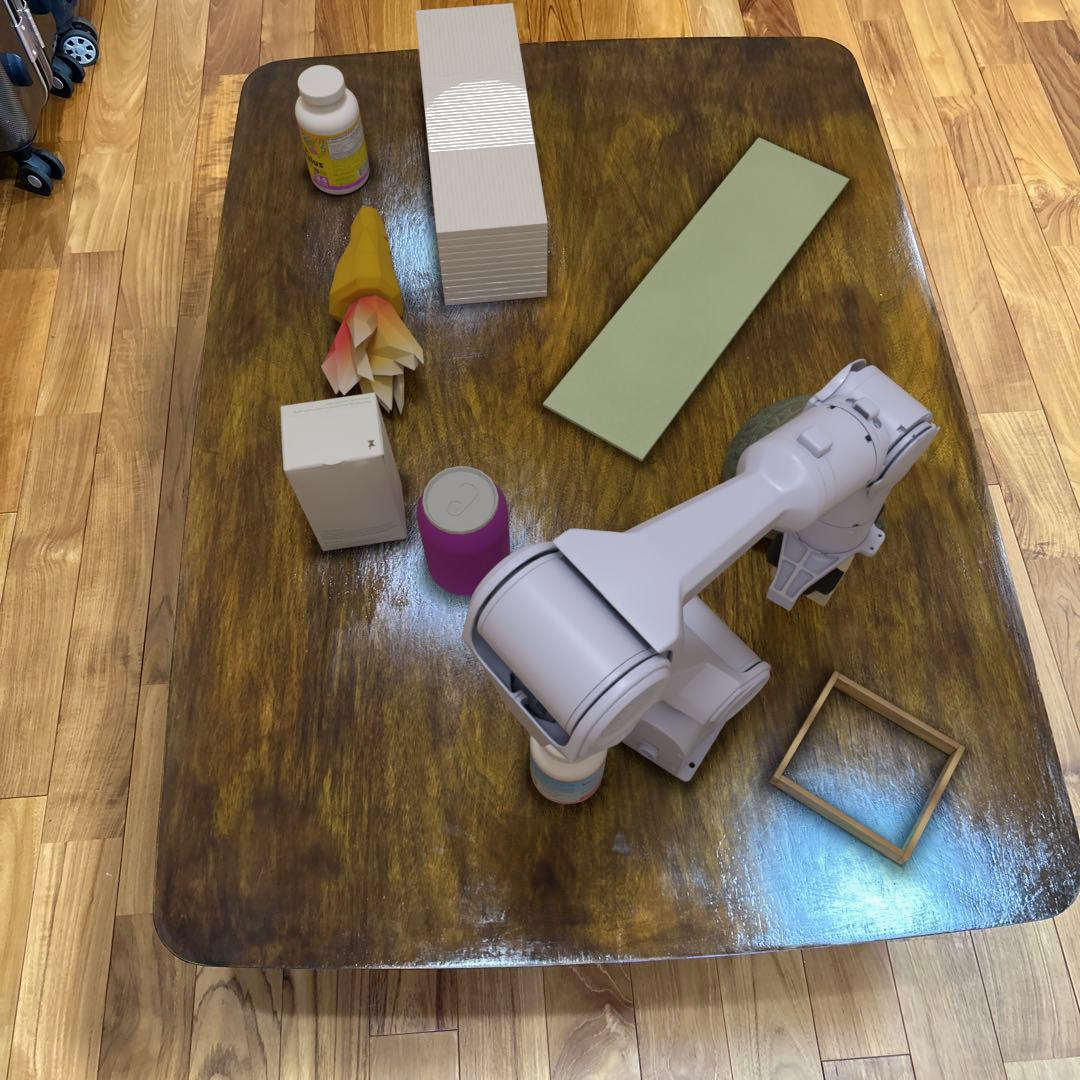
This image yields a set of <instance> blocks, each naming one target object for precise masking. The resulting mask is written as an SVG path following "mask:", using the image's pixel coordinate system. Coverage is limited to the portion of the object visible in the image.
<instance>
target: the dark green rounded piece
mask: <svg viewBox="0 0 1080 1080" xmlns="http://www.w3.org/2000/svg"><path fill="white" fill-rule="evenodd" d="M814 395H815V394H805V395H794V396H790V397H788V398H787V397H786V398H783V399H781V400H779V401H776V402H773V403H771V404H770V405H767V406H766V407H763V408H761V409H760V410H758V411H757V412H756V413H754V414H753V415H751V416H750V417H749V418H748V419H747V420H746V421H745V422H743V424H742V425H741V426H740V428H739V429H738V430H737V432H736V433H735V435H734V436H733V438H732V439H731V442H730V443H729V445H728V447H727V449H726V454H725V457H724V459H723V463H722V471H721V480H722V481H721V482H722V483H724V482H726V481H728V480H730V479H732V478H734V477H736V470H737V466H738V461H739V459H740V457H741V455H742V454H743V452H744V451H745V450H746V448H748V447H749V446H750V445H752V444H754V443H755V442H757V441H758V440H760V439H761V438H763V437H765V436H766V435H768V434H770V433H771V432H773V431H774V430H776V429H778V428H779V427H781V426H782V425H784V424H786V423H787V422H789V421H790V420H792V419H794V418H795V417H797V416H798V415H800V414H801V413H802V411H803V410H804V408H805V406H806V404H807V402H808V401H809V400H810V399H811V398H812V397H813V396H814ZM875 526H876V527H877V528H878V529H880V530H882V531H883V532H884V531H885V529H886V526H885V523H884V520H883V518H882V515H880V517H879V519H878V520H877V522H876V523H875ZM779 532H780V531H776V530H774V529H771V530H770V531H769V532H768V533H767V534H766V535H764V536H763V538H767V539H769V540H772V541H773V540H774V539H775V537H776V536H777V534H778V533H779ZM780 533H782V534H784V532H780Z"/></svg>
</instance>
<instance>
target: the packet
mask: <svg viewBox="0 0 1080 1080" xmlns="http://www.w3.org/2000/svg"><path fill="white" fill-rule="evenodd" d="M854 558H855V554H854V555H853V556H851V557H850V558H848V559H847V560H846V561H844V562H843V563H841V564H840V565H839V566H837V567H836V568H838V569H840V570H842V571H843V572H844V575H843V576H842V578H841V579H840V581H839V583H838V584H837V586H836V587H835V589H834V590H833V591H832V592H830V593H829V594H827V595H824V594H822V593H820V592H818V591H815V592H813V593H811V594H809V595H806V596H805V598H807V599H809V600H811V601H813V602H814V603H816V604H818V605H819V606H821V607H823V608H825V607H826V605H827V604H828V602H829V600H830V599H831V597H832V595H833V594H834V592H835V591H836V589H837V587H838V585H839V584H840V582H842V579H843V578H844V576H845V574H846V573H847V571H848V570H849V568H850V566H851V564H852V562H853V560H854ZM776 572H777V568H776V567H774V566H773V565H772V568H771V571H770V574H769V577H771V578H773V579H774V578H775V575H776ZM801 595H802V596H804V595H803V594H801Z"/></svg>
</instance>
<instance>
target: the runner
mask: <svg viewBox="0 0 1080 1080" xmlns="http://www.w3.org/2000/svg"><path fill="white" fill-rule="evenodd" d="M849 181H850V178H848V177H846V176H844V175H843V174H840V173H837V172H835V171H833V170H831V169H829V168H827V167H824V166H822V165H820V164H818V163H815V162H813V161H811V160H809V159H807V158H805V157H803V156H801V155H799V154H796V153H794V152H791V151H789V150H787V149H785V148H783V147H781V146H778V145H776V144H774V143H772V142H770V141H768V140H766V139H763V138H761V137H758V138H757V139H756V140H755V141H754V143H753V144H752V145H751V146H750V147H749V149H748V150H747V151H746V152H745V153H744V155H743V156H742V157H741V158H740V160H739V161H738V162H737V163H736V165H734V167H733V168H732V170H731V171H730V172H729V173H728V174H727V176H726V177H725V178H724V179H723V180H722V182H721V183H720V184H719V185H718V187H717V188H716V189H715V191H714V192H713V193H712V194H711V195H710V196H709V198H708V199H707V201H706V202H705V203H704V204H703V205H702V206H701V208H700V209H699V210H698V211H697V213H696V214H695V215H694V216H693V217H692V219H691V220H690V221H689V223H688V224H687V225H686V226H685V227H684V229H682V231H681V232H680V234H679V235H678V236H677V237H676V239H675V240H674V241H673V242H672V244H671V245H670V246H669V247H668V249H666V251H665V252H664V253H663V255H661V257H660V258H659V259H658V260H657V262H656V263H655V264H654V265H653V267H652V268H651V269H650V270H649V272H648V273H647V274H646V276H645V277H644V278H643V279H642V281H641V282H640V283H639V284H638V286H637V287H636V288H635V289H634V290H633V292H632V293H630V296H629V297H628V298H627V299H626V300H625V302H624V303H623V304H622V305H621V307H620V308H619V309H618V310H617V311H616V312H615V314H614V315H613V316H612V318H611V319H610V320H609V321H608V322H607V324H605V326H604V327H603V329H602V330H601V331H600V332H599V334H598V335H597V336H596V337H595V339H594V340H593V341H592V342H591V343H590V345H589V346H588V347H587V348H586V349H585V351H584V352H583V353H582V355H580V357H579V358H578V359H577V361H576V362H575V363H574V364H573V366H572V367H571V368H570V370H569V371H568V372H567V373H566V374H565V375H564V377H563V378H562V379H561V381H559V383H558V384H557V386H556V387H555V388H554V389H553V390H552V391H551V393H550V394H549V395H548V397H546V399H545V400H544V402H542V407H543V408H545V409H547V410H549V411H551V412H552V413H554V414H556V415H558V417H561V418H562V419H565V420H566V421H569V422H570V423H572V424H574V425H575V426H577V427H578V428H580V429H583V430H584V431H586V432H587V433H590V434H592V435H593V436H595V437H597V438H598V439H599V440H602V441H604V442H606V444H609V445H611V446H612V447H614V448H616V449H618V450H619V451H621V452H623V453H625V454H626V455H628V456H630V457H632V458H634V459H636V460H637V461H639V462H640V463H641V462H643V461H644V460H645V459H646V457H647V456H648V454H649V453H650V452H651V450H652V449H653V448H654V447H655V445H656V443H657V442H658V441H659V440H660V438H661V437H662V436H663V434H664V433H665V432H666V430H667V429H668V428H669V426H670V424H671V423H672V422H673V421H674V419H675V418H676V416H677V415H678V414H679V413H680V412H681V410H682V409H683V407H684V406H685V404H686V403H687V401H688V400H689V399H690V397H691V396H692V395H693V393H694V392H695V391H696V389H697V388H698V387H699V385H700V384H701V383H702V381H703V380H704V379H705V377H706V376H707V374H708V373H710V371H711V369H712V368H713V367H714V366H715V364H716V362H717V361H718V360H719V358H720V357H721V356H722V354H723V353H724V351H725V350H726V349H727V347H728V346H729V345H730V343H731V342H732V341H733V340H734V338H735V337H736V335H737V334H738V332H739V331H740V330H741V328H742V327H743V326H744V324H745V323H746V322H747V320H748V319H749V318H750V316H751V315H752V313H754V311H755V310H756V308H757V306H758V305H759V304H760V303H761V302H762V300H763V299H764V297H765V296H766V294H767V293H768V292H769V290H770V289H771V288H772V287H773V285H774V284H775V282H776V281H777V280H778V278H779V277H780V276H781V274H782V273H783V272H784V270H785V269H786V268H787V266H788V265H789V263H790V262H791V261H792V259H793V258H794V257H795V255H796V254H797V253H798V251H799V250H800V249H801V247H802V246H803V244H804V243H805V242H806V240H807V239H808V238H809V236H810V235H811V234H812V233H813V231H814V229H815V228H816V227H817V226H818V224H819V223H820V221H821V220H822V219H823V218H824V216H825V215H826V214H827V212H828V211H829V209H830V208H831V207H832V205H833V204H834V202H835V201H836V199H838V197H839V196H840V195H841V193H842V192H843V190H844V189H845V187H846V186H847V185H848V184H849Z"/></svg>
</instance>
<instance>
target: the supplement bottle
mask: <svg viewBox="0 0 1080 1080" xmlns="http://www.w3.org/2000/svg"><path fill="white" fill-rule="evenodd" d="M297 87H298V92H299V96H298V98H297V99H296V101H295V106H294V114H295V119H296V123H297V127H298V131H299V135H300V139H301V144H302V148H303V152H304V156H305V160H306V164H307V168H308V172H309V175H310V179H311V181H312V183H313V184H314V185H315V187H316V188H318V189H319V190H321V191H322V192H324V193H325V194H330V195H337V196H339V195H347V194H350V193H354V192H355V191H357V190H359V189H360V188H361V187H363V186H364V185H365V183H366V182H367V180H368V179H369V176H370V168H371V167H370V161H369V156H368V150H367V145H366V139H365V134H364V127H363V124H362V123H363V122H362V117H361V111H360V107H359V102H358V99H357V97H356V96H355V95H354V93H353V92H352V91H351V90H349V88H347V86H346V83H345V78H344V75H343V73H342V72H341V71H340V69H338V68H337V67H335V66H332V65H329V64H328V65H327V64H319V65H318V64H317V65H313V66H311V67H308V68H306V69H305V70H303V72H301V73H300V75H299V77H298V78H297Z"/></svg>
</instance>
